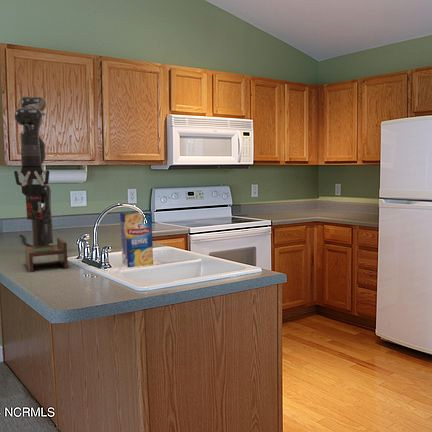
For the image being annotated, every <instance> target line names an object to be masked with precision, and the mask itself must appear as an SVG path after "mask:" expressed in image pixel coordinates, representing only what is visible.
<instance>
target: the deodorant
mask: <svg viewBox="0 0 432 432" xmlns="http://www.w3.org/2000/svg"><path fill="white" fill-rule="evenodd" d="M25 188H26V195H25V209H26V219H27V220H28V221H31V220H36V219H42V207H43V206H42V204H41V189H40V183H33V184H27V185H26V184H25Z"/></svg>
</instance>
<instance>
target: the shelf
mask: <svg viewBox="0 0 432 432" xmlns="http://www.w3.org/2000/svg"><path fill="white" fill-rule="evenodd" d="M56 242H57V244H54V245H45V246H32V247H31V246H25V247H24V253H25V265H26V267H27V268H28V271H29V272H30V273H32V272H34V258H35V257H45V256H57V261H58V263H59V264H60V265H61V266H62V267H63V268H64V269H68V268H69V263H68V261H69V260H68V244H67V242H66V241H65V240H64V239H63V238H61V237H56Z"/></svg>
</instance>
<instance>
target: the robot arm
mask: <svg viewBox="0 0 432 432" xmlns="http://www.w3.org/2000/svg"><path fill="white" fill-rule="evenodd" d="M47 109H48V107H47V101H46V99H45V98H44V97H41V96H22V97H21V98H20V107H18V108H16V109H15V111H14V114H13V118H14V120H15V123H17V124H18V125H20V126H22V131H21V132H20V159H21V161H20V162H21V169H20V170H14V171H13V174H14V180H15V184H16V185H17V186H19V187H21V194H23V196H26V188H25V185H27V184H34V180H37V182H38V184H40V189H41V205H42V204H43V206H41V207H42V219H36V220H30V223H31V224H30V225H31V241H32V244H29V243H27V242H26V241H25V235H23V234H19V237H22V243H23V244H25V245H26V246H27V247H32V246H45V245H55V244H54V234H53V233H54V231H53V215H52V189H51V186H50V185H49V180H50V170H47V169H46V170H45V169H43V168H42V165H43V164H44V162H45V160H46V156H47V155H46V144H45V141H44V140H43V139H42V137H41V136H40V129H41V124H42V120H43V117H44V116H46V114H47ZM21 174H22V175H23V180H22V182H21V181H20V175H21ZM42 174H43V175H44V181H43V180H42V178H41V175H42Z"/></svg>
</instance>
